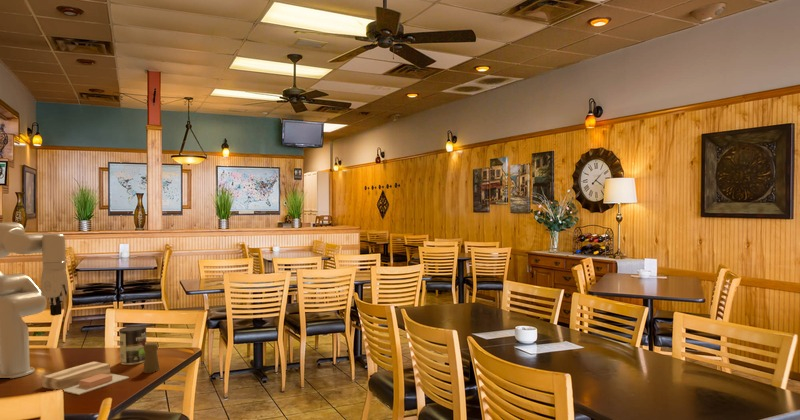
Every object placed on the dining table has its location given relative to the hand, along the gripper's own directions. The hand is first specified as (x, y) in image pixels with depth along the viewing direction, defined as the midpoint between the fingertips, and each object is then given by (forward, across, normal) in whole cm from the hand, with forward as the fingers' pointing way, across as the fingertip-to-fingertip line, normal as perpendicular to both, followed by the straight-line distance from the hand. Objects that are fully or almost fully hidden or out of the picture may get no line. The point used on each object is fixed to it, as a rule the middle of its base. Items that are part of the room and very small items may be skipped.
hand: (56, 314), depth 211 cm
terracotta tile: (+23, +18, +3) cm, 29 cm away
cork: (+25, +23, +23) cm, 41 cm away
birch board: (+25, +7, +3) cm, 26 cm away
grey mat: (+25, +18, +3) cm, 31 cm away
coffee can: (+25, +5, +29) cm, 39 cm away
